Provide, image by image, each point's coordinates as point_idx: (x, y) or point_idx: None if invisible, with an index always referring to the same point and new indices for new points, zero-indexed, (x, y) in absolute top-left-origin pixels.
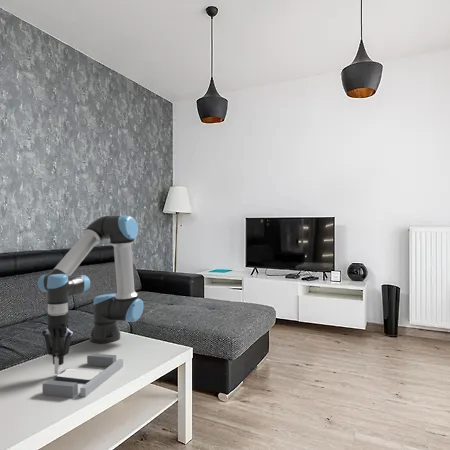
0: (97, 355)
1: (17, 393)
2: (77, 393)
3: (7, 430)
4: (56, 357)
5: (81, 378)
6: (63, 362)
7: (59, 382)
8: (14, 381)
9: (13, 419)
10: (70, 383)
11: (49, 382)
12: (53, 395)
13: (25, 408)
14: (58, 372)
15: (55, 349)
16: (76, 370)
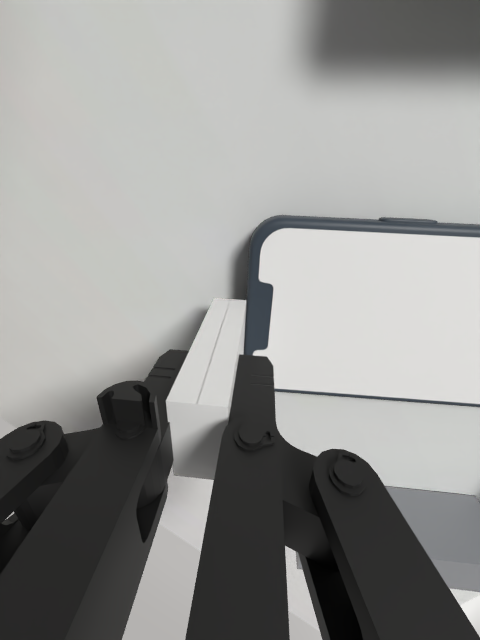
0: None
1: (168, 493)
2: (476, 501)
3: (316, 624)
4: (206, 478)
5: (474, 396)
6: (272, 368)
7: None
8: (30, 401)
9: (296, 598)
10: (475, 574)
11: None
12: None
13: (291, 565)
14: (243, 349)
15: (123, 617)
16: (377, 266)
